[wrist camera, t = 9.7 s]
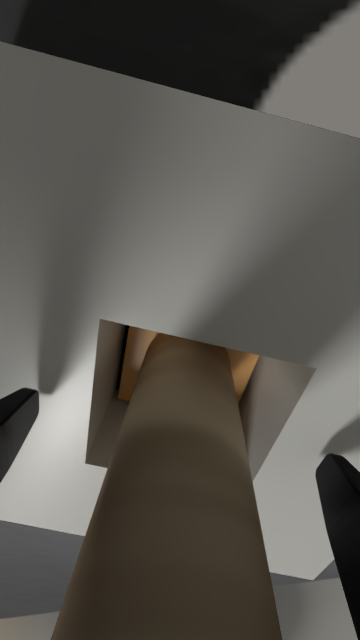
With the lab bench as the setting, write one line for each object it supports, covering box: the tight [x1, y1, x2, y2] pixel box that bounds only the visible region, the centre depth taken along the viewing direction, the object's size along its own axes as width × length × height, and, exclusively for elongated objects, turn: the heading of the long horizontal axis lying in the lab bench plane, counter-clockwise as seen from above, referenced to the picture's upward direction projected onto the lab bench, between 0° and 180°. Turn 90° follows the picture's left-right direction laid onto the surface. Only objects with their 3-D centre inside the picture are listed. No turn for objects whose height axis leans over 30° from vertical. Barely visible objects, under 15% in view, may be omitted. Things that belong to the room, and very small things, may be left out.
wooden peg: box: [51, 333, 282, 640], centre depth 7 cm, size 4×4×10 cm
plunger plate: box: [118, 326, 259, 404], centre depth 11 cm, size 5×5×1 cm
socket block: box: [0, 42, 360, 580], centre depth 10 cm, size 16×16×4 cm
